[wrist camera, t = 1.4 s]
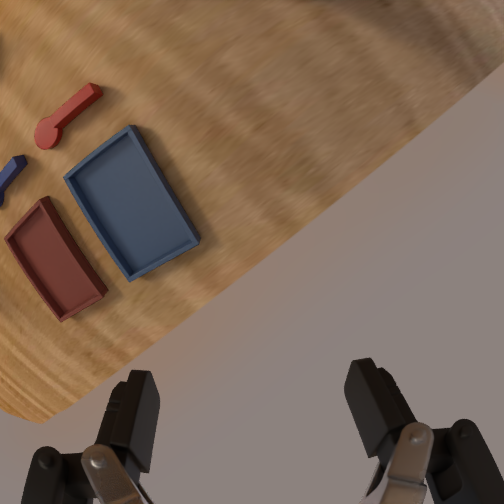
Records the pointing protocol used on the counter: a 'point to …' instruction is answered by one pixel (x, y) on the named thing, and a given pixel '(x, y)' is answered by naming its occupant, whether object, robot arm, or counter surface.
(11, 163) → the blue spoon
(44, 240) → the red tray
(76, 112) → the red spoon
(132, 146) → the blue tray
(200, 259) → the counter surface
